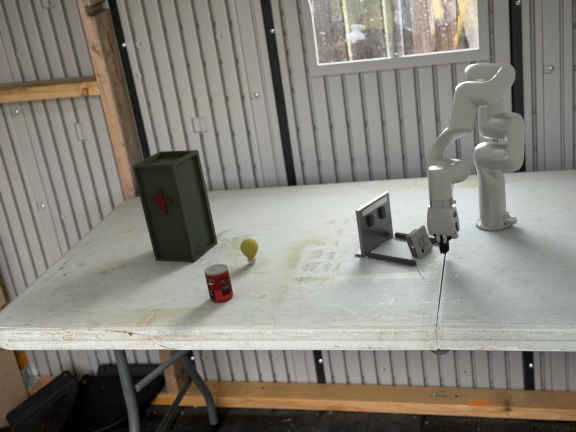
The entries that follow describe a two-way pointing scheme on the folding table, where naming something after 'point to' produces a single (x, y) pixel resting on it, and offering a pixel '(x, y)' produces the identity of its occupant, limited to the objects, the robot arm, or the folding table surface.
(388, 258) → the cable near
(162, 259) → the first aid box
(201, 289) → the folding table surface
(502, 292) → the folding table surface
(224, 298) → the canned food
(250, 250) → the light bulb
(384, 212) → the panel
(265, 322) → the folding table surface
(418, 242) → the electrical switch
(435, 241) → the cable far
